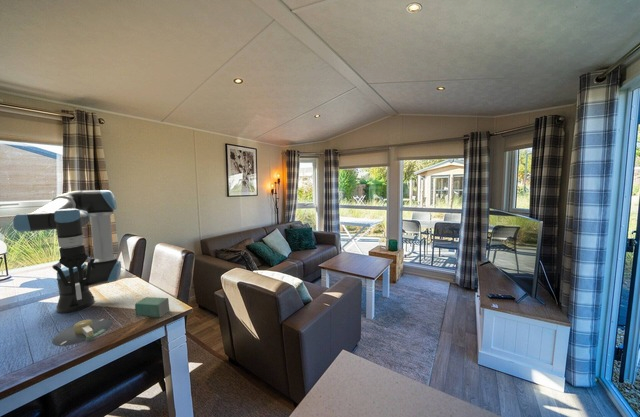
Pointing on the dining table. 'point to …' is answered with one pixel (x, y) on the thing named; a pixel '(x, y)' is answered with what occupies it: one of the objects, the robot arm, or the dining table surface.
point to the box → (152, 306)
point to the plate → (70, 338)
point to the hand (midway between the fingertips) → (79, 298)
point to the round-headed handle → (84, 328)
